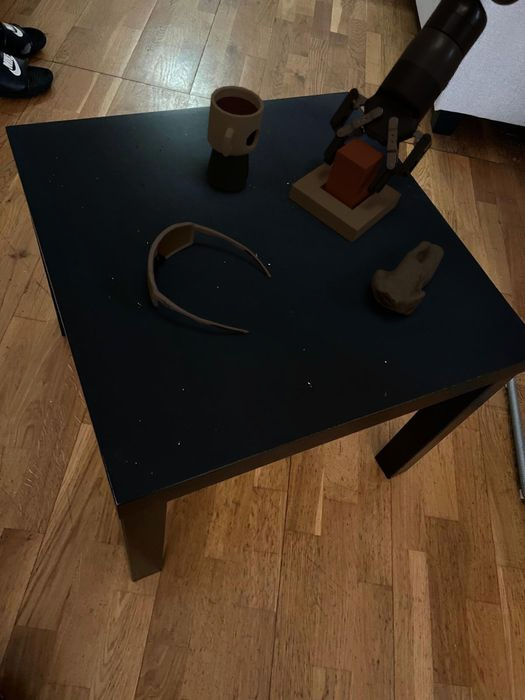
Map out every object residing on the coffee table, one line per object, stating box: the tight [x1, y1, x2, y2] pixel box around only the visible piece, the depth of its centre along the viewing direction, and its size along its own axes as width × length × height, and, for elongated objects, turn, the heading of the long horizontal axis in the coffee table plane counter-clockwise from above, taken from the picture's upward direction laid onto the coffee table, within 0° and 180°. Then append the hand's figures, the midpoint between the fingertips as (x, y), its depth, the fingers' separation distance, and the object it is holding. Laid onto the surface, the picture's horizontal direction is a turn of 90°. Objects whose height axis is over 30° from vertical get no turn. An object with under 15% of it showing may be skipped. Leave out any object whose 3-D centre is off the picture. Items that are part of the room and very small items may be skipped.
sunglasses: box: [146, 221, 272, 334], centre depth 68 cm, size 14×15×5 cm
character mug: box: [205, 85, 265, 192], centre depth 76 cm, size 11×7×13 cm, turn 170°
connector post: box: [324, 137, 386, 210], centre depth 79 cm, size 5×5×9 cm
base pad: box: [288, 162, 402, 244], centre depth 82 cm, size 12×12×2 cm
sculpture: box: [370, 240, 445, 316], centre depth 73 cm, size 7×5×15 cm
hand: (348, 177), depth 78 cm, fingers open, 7 cm apart
